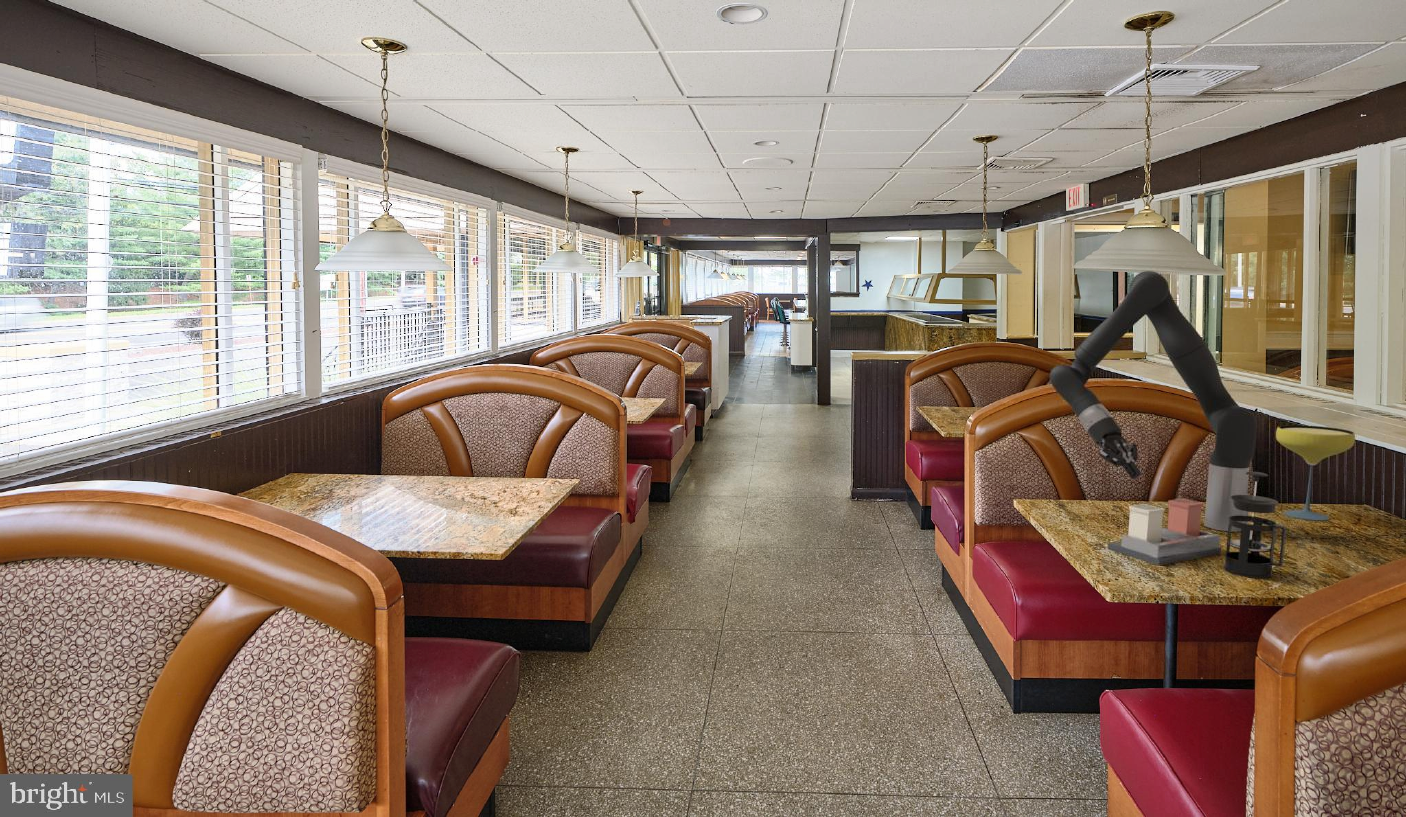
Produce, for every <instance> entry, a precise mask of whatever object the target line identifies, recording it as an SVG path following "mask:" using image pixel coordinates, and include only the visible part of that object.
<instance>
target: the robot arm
mask: <svg viewBox="0 0 1406 817" xmlns="http://www.w3.org/2000/svg"><path fill="white" fill-rule="evenodd" d="M1169 288H1170V287H1169V282H1168V281H1167V279H1166V277H1164V276H1163V275H1162V274H1161V273H1159V272H1156V271H1153V270H1146V271H1142V272H1139V273H1137V274H1136V275H1134V277H1133V278H1132V279H1131V281H1130V283H1129V286H1128V292H1127V294H1126V295H1125V297H1124V298H1123V300H1122V301H1121V303H1120V304H1119V305H1118V306H1117V307H1116V309H1115V310H1114V311H1113V312H1112V313H1111V314H1110V315H1109V316H1108V317H1107V318H1106V319H1105V320H1103V321H1102V323H1100V324H1099V325H1098V326H1096V328H1095V329H1093V331H1092V332H1091V333H1090V334H1088V336H1086V338H1085V339H1084V340H1083V342H1081V343H1080V345H1078V347H1077V348H1076V349H1075V351H1074V353H1073V354H1074V357H1075V359H1074V360H1073V362H1072V363H1071V365H1067V364H1057V365H1056V366H1054V367H1053V368H1052V369H1051V370H1050V373H1049V382H1050V384H1051V385H1052V387H1053V388H1054V390H1055V391H1056V392H1057V393H1058V394H1059V395H1060V396H1061V397H1062V399H1064V400H1065V402H1066V403H1067V404H1068V406H1070V407H1071V409H1072V411H1073V412H1074V414H1075V415H1076V416H1077V418H1078V420H1079V421H1080V424H1081V425H1082V427H1083V429H1084V430H1085V431H1086V433H1087V434H1088V435H1089V437H1090V438H1091V439H1092V441H1093V442H1094V444H1095V445H1097V446H1099V447H1100V450H1099V451H1098V452H1097V454H1098V455H1099V457H1101V458H1102V459H1104V460H1106V461H1107V462H1109V463H1110V464H1112V465H1113V466H1114V467H1121V468H1123V470H1125V472H1126V474H1127V475H1128V476H1129V477H1130V478H1131V479H1132V480H1133V479H1138V478H1139V477H1140V476H1141V475H1142V473H1141V470H1140V469H1139V468H1138V467H1137V465H1136V464H1135V462H1136V461H1138V460H1139V455H1138V454H1139V452H1138V445H1137V444H1136V443H1132V444H1130V443H1128V441H1127V440H1126V438H1124V437H1123V436H1122V432H1123V430H1122V428H1121V427H1120V425H1119V424H1118V422H1117V421H1116V419H1115V418H1114V417H1113V415H1112V414H1111V413H1110V411H1108V409H1107V408H1106V407H1105V406H1104V405H1103V404H1102V402H1101V401H1100V399H1099V398H1098V397H1097V395H1096V394H1095V393H1094V392H1093V391H1092V390H1091V389H1089V388H1087V387H1086V384H1087V382H1088V381H1089V380H1090V378H1091V376H1092V375H1093V373H1094V371H1095V369H1096V367H1097V366H1098V364H1100V363H1101V362H1102V360H1104V358H1106V356H1107V355H1108V354H1109V353H1110V352H1111V351H1112V349H1114V348H1115V346H1117V344H1118V343H1119V342H1120V340H1121V339H1122V338H1123V337H1124V336H1125V335H1126V334H1127V333H1128V331H1129V330H1131V328H1132V327H1134V326H1135V325H1136V324H1137V323H1138V322H1139V321H1140V320H1141V319H1142V318H1143V317H1145V316H1146V317H1147V318H1148V319H1149V321H1150V323H1151V324H1152V326H1153V328H1154V330H1155V332H1156V335H1157V337H1158V339H1159V340H1160V344H1161V345H1162V348H1163V350H1164V352H1165V353H1166V356H1167V357H1168V359H1169V361H1170V362H1171V364H1172V365H1173V367H1174V368H1175V370H1176V371H1177V373H1178V375H1179V376H1180V377H1181V379H1182V380H1183V382H1184V383H1185V385H1186V386H1187V387H1188V389H1189V390H1190V391H1191V393H1192V394H1193V395H1194V397H1195V398H1196V400H1197V401H1198V403H1199V405H1200V407H1201V410H1202V411H1203V413H1204V416H1205V418H1206V420H1207V423H1208V425H1209V427H1210V429H1211V430H1212V432H1214V434H1216V437H1215V446H1214V449H1213V451H1212V452H1211V453H1210V455H1209V464H1208V478H1207V486H1206V487H1207V488H1206V501H1205V512H1204V513H1205V514H1204V523H1203V525H1204V526H1205V527H1207V528H1209V529H1212V530H1217V531H1224V532H1228V525H1229V517H1231V516H1238V515H1241V516H1249V512H1247V511H1242V510H1238V509H1236V508H1235V506H1234V503H1233V500H1232V499H1231V496H1234V495H1250V494H1249V493H1248V488H1249V480H1250V479H1249V477H1250V475H1247V474H1246V473H1247V472H1250V466H1251V461H1252V459H1253V457H1254V454H1255V447H1256V439H1257V434H1258V433H1257V430H1258V422H1257V419H1256V416H1255V415H1254V414H1253V413H1252V411H1250V410H1249V409H1247V408H1244V407H1241V406H1240V405H1239V404H1238V403H1237V402H1236V401H1235V399H1234V398H1233V397H1232V396H1231V394H1230V393H1229V392H1228V390H1227V388H1226V387H1225V385H1224V383H1223V381H1222V378H1221V375H1220V371H1219V368H1218V365H1217V362H1216V360H1215V358H1214V355H1213V353H1212V352H1211V350H1210V349H1209V346H1208V345H1207V344H1206V342H1205V341H1204V339H1203V338H1202V337H1201V335H1200V334H1199V332H1198V330H1196V328H1195V327H1194V326H1193V325H1192V324H1191V322H1190V321H1189V320H1188V319H1187V318H1186V316H1185V315H1184V314H1183V313H1182V312H1181V310H1180V308H1179V307H1178V305H1177V304H1176V302H1175V299H1174V298H1173V296H1172V294H1171V291H1170V289H1169ZM1236 522H1240V523H1244V524H1248V522H1247V521H1236ZM1231 532H1232V533H1233V532H1235V533H1236V532H1241V529H1240V528H1236V527H1233V526H1232V528H1231Z"/></svg>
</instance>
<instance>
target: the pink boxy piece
mask: <svg viewBox="0 0 1406 817" xmlns="http://www.w3.org/2000/svg"><path fill="white" fill-rule="evenodd" d="M1167 504H1168V506H1169V507H1168V518H1167V529H1169V530H1172V531H1176V532H1180V533H1183V534H1187V535H1191V536H1194V537H1196V536H1199V534H1200V530H1201V520H1202V508H1203V507H1204V502H1200V501H1195V500H1191V499H1188V498H1176V499H1171V500H1168V502H1167Z"/></svg>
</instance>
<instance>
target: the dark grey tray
mask: <svg viewBox="0 0 1406 817" xmlns="http://www.w3.org/2000/svg"><path fill="white" fill-rule="evenodd" d="M1220 539H1221V535H1220V534H1216V533H1212V532H1208V531H1204V530H1201V529H1200V534H1199V536H1196V537H1194V536H1191V535H1187V534H1183V533H1180V532H1176V531H1172V530H1169V529H1168V528H1165V527H1164V528H1163V527H1162V531H1161V543H1156V544H1155V543H1152V542H1148V541H1145V540H1142V539H1138V538H1135V537H1132V536H1128V535H1127V534H1121V540H1119V541H1112V542H1111V541H1110V542H1108V543H1107V550H1110V551H1114V552H1116V553H1119V554H1123V555H1126V556H1129V557H1132V558H1134V559H1138V560H1140V561H1144V562H1147V563H1150V564H1153V565H1156V566H1162V565H1167V564H1172V563H1178V562H1183V561H1189V560H1194V559H1195V560H1196V559H1201V558H1204V557H1210V556H1211V557H1212V556H1216V555H1221V554H1222V553H1221V552H1222V547H1220V542H1221V540H1220Z"/></svg>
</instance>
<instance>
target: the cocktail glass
mask: <svg viewBox="0 0 1406 817" xmlns="http://www.w3.org/2000/svg"><path fill="white" fill-rule="evenodd" d="M1275 438H1276V441H1277V442H1278V443H1279V444H1280V445H1282V446H1283V447H1284V448H1286V449H1288V450H1290V451H1291V452H1293V453H1295V454H1297V455H1298V456H1300V457H1302V459H1303V460H1304V461H1305V463H1306V464H1308V466H1310V467H1309V476H1308V485H1307V493H1306V500H1305V501H1306V502H1305V505H1304V508H1303V509H1301V510H1300V509H1299V510H1298V509H1297V510H1295V509H1294V510H1289V509H1288V510H1285V511H1284V512H1283V514H1284V515H1285V516H1287V517H1290V518H1294V519H1298V520H1303V521H1313V522H1326V521H1329V520H1330V519H1331V517H1330V516H1328V515H1326V514H1323V513H1319V512H1314V511H1312V510H1311V489H1312V479H1313V478H1312V477H1313V470H1314V469H1313V468H1314V466H1315V465H1318V464H1319V463H1320V462H1321V461H1322V460H1324V459H1326V458H1328V457H1332V456H1335V455H1338V454H1342V453H1344V452H1346V451H1348V450H1350V449H1351V448H1352V447H1353V446H1354V444H1355V442H1356V434H1355V432H1354V431H1351V430H1347V429H1344V428H1337V427H1327V426H1317V425H1303V424H1300V425H1299V424H1296V425H1295V424H1289V425H1279V426H1277V428H1276V432H1275Z"/></svg>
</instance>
